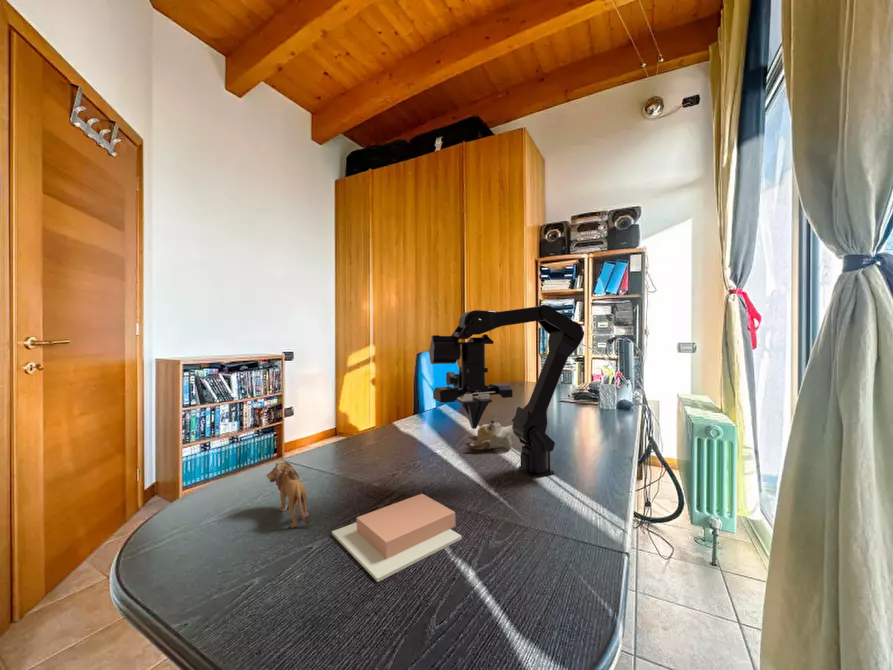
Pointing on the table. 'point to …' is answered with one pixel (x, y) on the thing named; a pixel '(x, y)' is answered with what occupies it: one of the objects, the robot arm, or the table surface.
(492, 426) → the ceramic sculpture
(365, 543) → the rubber mat
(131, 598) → the table surface
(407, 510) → the terracotta board
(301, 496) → the lion figurine
